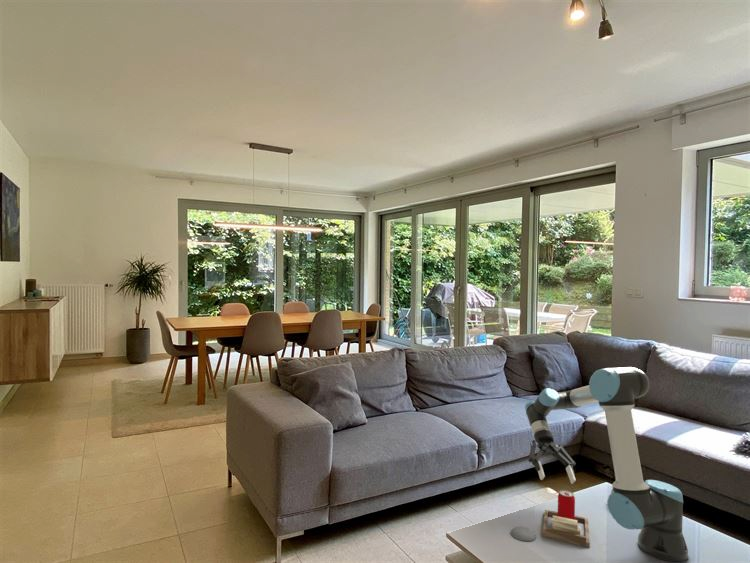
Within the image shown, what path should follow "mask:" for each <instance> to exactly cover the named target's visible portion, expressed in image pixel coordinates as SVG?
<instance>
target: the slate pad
mask: <svg viewBox="0 0 750 563" xmlns="http://www.w3.org/2000/svg"><path fill="white" fill-rule="evenodd" d="M510 534H511V536H512V537H513V538H514V539H516V540H519V541H522V542H527V543H528V542H533V541H535V540H536V539H537V534H536V532H535V531H534V530H533V529H530V528H528V527H524V526H515V527H512V528H511V530H510Z"/></svg>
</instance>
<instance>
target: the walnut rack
mask: <svg viewBox="0 0 750 563" xmlns="http://www.w3.org/2000/svg"><path fill="white" fill-rule="evenodd" d="M553 515H554V516H558V511H554V510H549V509H544V516H543V523H542V533H541V534H542V537H544V538H547V539H552V540H557V541H562V542H566V543H570V544H574V545H578V546H583V547H587V548H590V547H591V546H590V528H589V525H590V524H589V518H588V517H583V516H578V515H575V520H577V521H578V522H579V523H584V532H585V535H582V534H581V535H578V534H573V533H569V532H564V531H560V530H555V529H552V528H550V527H548V519H549V518H548V516H549V517H550V516H551V517H553Z"/></svg>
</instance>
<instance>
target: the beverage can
mask: <svg viewBox="0 0 750 563" xmlns="http://www.w3.org/2000/svg"><path fill="white" fill-rule="evenodd" d="M575 506H576V497H575V494H574V493H573V492H572V491H570V490H566V489H562V490H559V493H558V494H557V512H558V516H559V517H563V518H568V519H573V520H575V516H576V515H575V514H576V507H575Z"/></svg>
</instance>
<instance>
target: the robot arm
mask: <svg viewBox="0 0 750 563" xmlns="http://www.w3.org/2000/svg"><path fill="white" fill-rule="evenodd" d="M588 384H589V385H585V386H581V387H578V388H574V389H570V390H566V391H557V390H555V389H553V388H550V387H546V388H544V389H543V390H542V391H541V392H540V393H539V395H538V396H537V397H536V399H535V400H529V402H527V403H525V406H524V409H525V414H526V416H527V419H528V422H529V425H530V428H531V431H532V434H533V438H534V440H532V441H531V442H530V450H529V451H530V452H529V456H528V462H529V463H531V464H532V465H533V466H534V468H535V470H536V471H537V473H538V476H539V479H540V481H543V480H544V478H546V475H545V472H544V468H543V464H542V462H541V461H540V460H539V459H540V458H541V457H542V455H543V454H544V455H550V456H551V455H552V456H553V457H555V458H556V459H557V460H558V461H559V462H560V463H561V464H563V465H564V466H565V471H566V474H567V476H568V478H569V482H570V484H571V485H572V484H574V483H575V482H576V481H577V480H576V477H575V471H574V466H576V464H577V463H576V462H575V460H573V458H572V457H571V456H570V455H569V454H568V452H567V451H566V450H565V448H564V447H563V445H562V443H559V444H556V443H555V441H554V440H555V439H554V437H553V434H552V430H551V428H550V425H549V423H548V420H547V416H548V415H549V414H550V412H551V411H555V410H566V409H567V410H569V409H577V408H581V407H582V406H586V405H593V404H596V403H598V406H599V407H600V408H601V409H602V410H603V411H604V416H605V422H606V426H607V427H606V428H607V433H608V439H609V445H610V451H611V452H610V453H611V457H612V464H613V470H614V476H615V481H613V483H612V484H611V488H612V489H613V493H612V494H611V493H610V494H611V495H610V494H609V495H610V496H609V495H608V497H609V498H607V504H606V505H607V508H608V512H609V514H610V515H611V517H612V518H613V519H614V520H615V521H616V523H617V524H618V525H619V526H621V527H622V528H624V529H625V530H626V529H627V530H640V532H639V533H638V535H637V545H638V546H639V548H640V549H641V550H642V551H644V552H645V553H647V555H650V556H652V557H654V558H657V559H660V560H663V561H667V562H674V563H680V562H684V561H687V560H688V558H689V549H688V546H687V543H686V540H685V536H684V534H683V521H684V520H683V517H684V516H683V511H684V510H683V508H684V507H683V506H684V498H683V493H682V491H681V490H680V488H678V487H676V486H674V485H673V484H670V483H667V482H665V481H661V480H655V479H646V480H644V477H643V476H644V475H643V470H642V466H641V461H640V454H639V449H638V448H639V447H638V443H637V441H638V440H637V436H636V431H635V425H634V419H633V414H632V409H633V408H634V407H635V406H636V404H635V403H636V402H635V399H640V398H641V397H644V396H645V395H646V394H647V393H648V392H649V389H650V380H649V377H648V375H647V374H646V373H645V372H644V371H643V370H641V369H640V368H639V369H638V368H637V367H632V366H625V367H605V368H601V369H597V370H595V371H594V372H593V374H592V375H591V376H590V378H589V382H588ZM537 448H538V449H539V450H538V452H537V454H536V456H535V452H536V449H537Z"/></svg>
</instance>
